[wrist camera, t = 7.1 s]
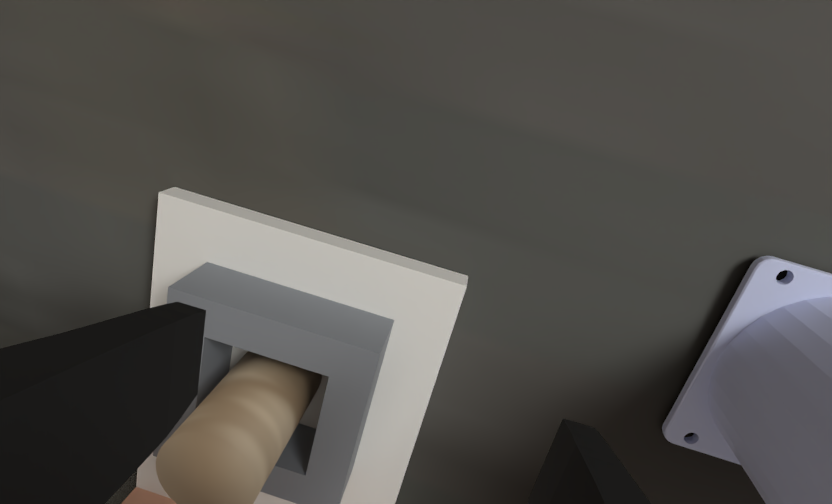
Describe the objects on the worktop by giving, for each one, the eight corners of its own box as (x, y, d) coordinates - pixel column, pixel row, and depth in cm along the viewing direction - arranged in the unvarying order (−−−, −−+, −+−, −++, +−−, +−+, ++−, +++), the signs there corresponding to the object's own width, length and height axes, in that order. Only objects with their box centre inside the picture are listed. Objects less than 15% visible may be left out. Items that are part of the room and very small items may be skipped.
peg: (328, 348, 20) (264, 452, 14) (314, 412, 21) (249, 532, 15) (252, 324, 20) (159, 419, 14) (242, 389, 21) (152, 500, 16)
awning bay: (468, 276, 19) (453, 379, 13) (374, 562, 25) (330, 736, 18) (174, 186, 20) (15, 241, 13) (148, 486, 25) (27, 627, 19)
